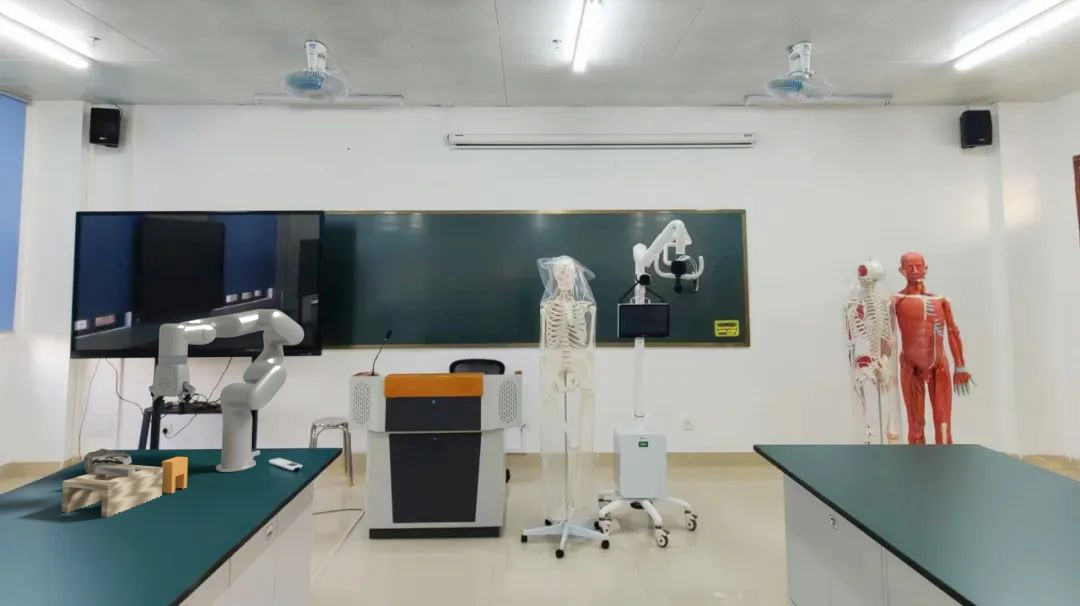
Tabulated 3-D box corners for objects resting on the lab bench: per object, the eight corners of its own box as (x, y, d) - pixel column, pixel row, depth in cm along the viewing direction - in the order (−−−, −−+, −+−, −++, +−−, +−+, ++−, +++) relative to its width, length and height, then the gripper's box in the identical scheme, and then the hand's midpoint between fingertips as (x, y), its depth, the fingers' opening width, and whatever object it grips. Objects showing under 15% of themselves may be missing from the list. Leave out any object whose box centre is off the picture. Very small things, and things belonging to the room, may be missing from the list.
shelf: (120, 492, 151) (121, 457, 152) (161, 496, 149) (163, 461, 149) (61, 512, 136) (63, 474, 136) (107, 517, 133) (108, 478, 133)
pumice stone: (75, 473, 168) (76, 451, 168) (117, 464, 178) (118, 443, 179) (88, 481, 161) (89, 457, 161) (132, 471, 171) (133, 449, 171)
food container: (141, 483, 159) (142, 454, 159) (123, 490, 153) (124, 459, 153) (108, 482, 160) (109, 452, 161) (89, 488, 154) (90, 458, 154)
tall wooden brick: (176, 486, 157) (177, 456, 157) (186, 487, 156) (187, 457, 156) (161, 492, 151) (162, 461, 152) (171, 493, 151) (172, 462, 151)
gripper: (139, 361, 153) (138, 414, 152) (184, 362, 149) (182, 416, 149) (162, 359, 160) (160, 409, 160) (205, 360, 157) (203, 412, 156)
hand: (171, 413), depth 154 cm, fingers open, 9 cm apart
